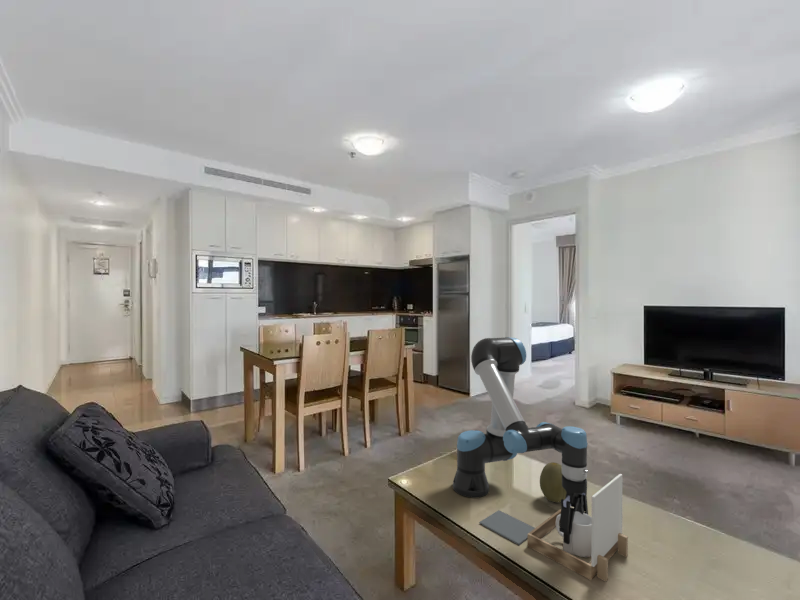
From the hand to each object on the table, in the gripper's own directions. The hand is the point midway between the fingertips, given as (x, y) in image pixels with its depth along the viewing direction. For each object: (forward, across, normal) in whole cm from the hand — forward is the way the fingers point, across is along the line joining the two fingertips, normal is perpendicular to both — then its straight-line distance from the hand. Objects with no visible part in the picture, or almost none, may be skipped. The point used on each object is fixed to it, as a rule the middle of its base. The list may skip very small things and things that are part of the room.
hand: (574, 546), depth 124 cm
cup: (0, 0, 0) cm, 0 cm away
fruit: (0, +23, +18) cm, 29 cm away
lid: (0, 0, -11) cm, 11 cm away
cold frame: (0, 0, 0) cm, 0 cm away
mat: (0, -7, +20) cm, 21 cm away
